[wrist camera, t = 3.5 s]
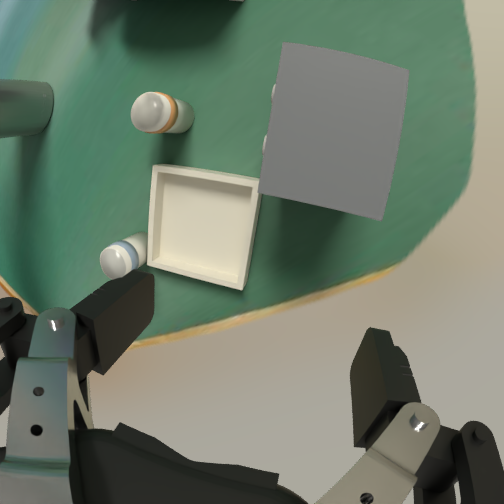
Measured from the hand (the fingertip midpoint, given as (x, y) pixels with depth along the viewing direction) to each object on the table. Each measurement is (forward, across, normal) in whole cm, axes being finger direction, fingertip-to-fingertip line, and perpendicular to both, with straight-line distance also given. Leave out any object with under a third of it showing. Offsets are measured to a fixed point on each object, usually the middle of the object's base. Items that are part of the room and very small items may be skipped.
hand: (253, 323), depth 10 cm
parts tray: (+24, +10, +4) cm, 26 cm away
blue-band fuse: (+24, +18, +9) cm, 31 cm away
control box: (+23, -2, -8) cm, 25 cm away
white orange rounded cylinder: (+24, +15, -8) cm, 29 cm away
